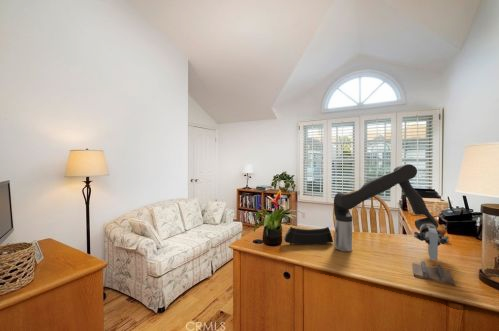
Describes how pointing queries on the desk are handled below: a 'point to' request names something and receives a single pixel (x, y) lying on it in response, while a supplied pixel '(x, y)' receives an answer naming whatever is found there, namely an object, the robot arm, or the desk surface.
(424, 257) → the desk surface
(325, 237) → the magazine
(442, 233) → the bull figurine
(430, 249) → the door panel
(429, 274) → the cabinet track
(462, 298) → the desk surface
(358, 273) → the desk surface
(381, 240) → the desk surface
